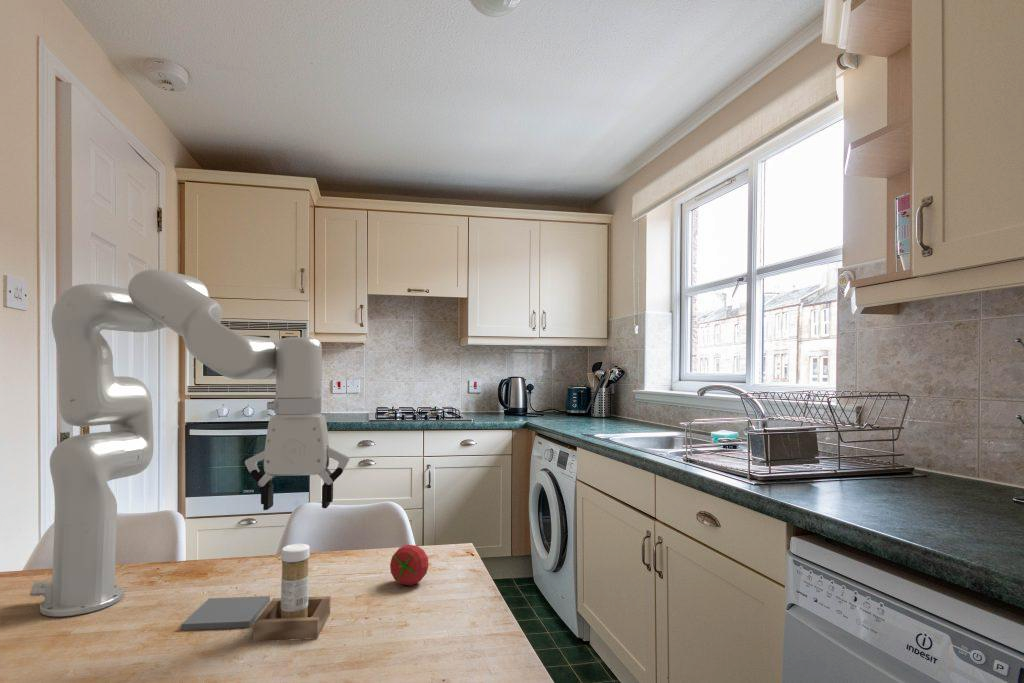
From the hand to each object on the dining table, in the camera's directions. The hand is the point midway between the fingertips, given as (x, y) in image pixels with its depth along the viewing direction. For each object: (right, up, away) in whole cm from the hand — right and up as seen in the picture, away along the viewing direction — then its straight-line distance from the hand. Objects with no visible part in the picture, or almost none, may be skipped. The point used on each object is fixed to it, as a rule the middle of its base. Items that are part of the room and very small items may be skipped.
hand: (297, 507), depth 99 cm
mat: (-14, -20, +4) cm, 25 cm away
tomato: (+16, -21, +19) cm, 33 cm away
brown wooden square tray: (0, -20, -1) cm, 20 cm away
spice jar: (0, -20, -1) cm, 20 cm away
